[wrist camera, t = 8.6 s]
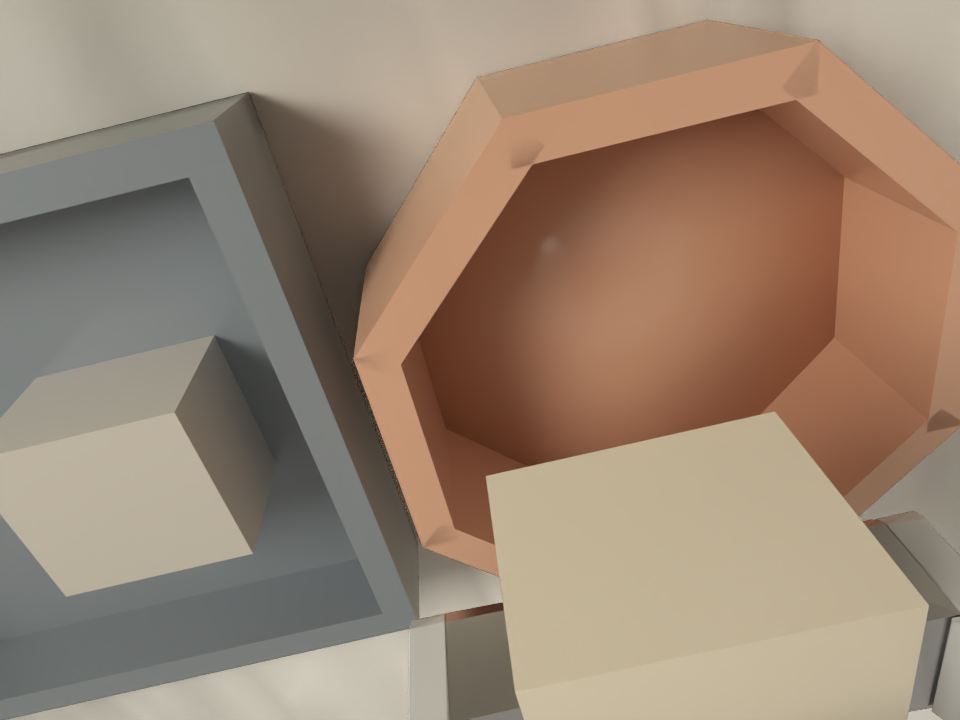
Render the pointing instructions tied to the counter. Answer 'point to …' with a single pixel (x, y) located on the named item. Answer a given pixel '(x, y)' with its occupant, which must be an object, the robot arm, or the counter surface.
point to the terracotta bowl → (664, 272)
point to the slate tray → (258, 371)
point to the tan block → (700, 585)
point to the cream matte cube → (134, 467)
